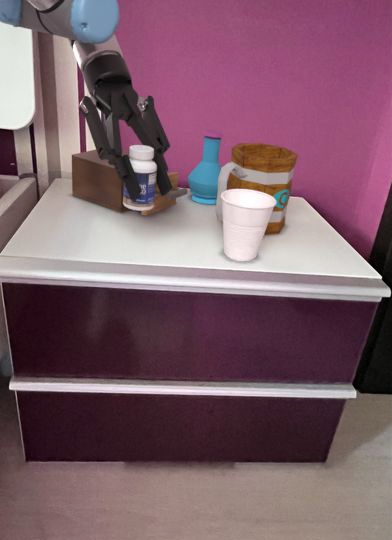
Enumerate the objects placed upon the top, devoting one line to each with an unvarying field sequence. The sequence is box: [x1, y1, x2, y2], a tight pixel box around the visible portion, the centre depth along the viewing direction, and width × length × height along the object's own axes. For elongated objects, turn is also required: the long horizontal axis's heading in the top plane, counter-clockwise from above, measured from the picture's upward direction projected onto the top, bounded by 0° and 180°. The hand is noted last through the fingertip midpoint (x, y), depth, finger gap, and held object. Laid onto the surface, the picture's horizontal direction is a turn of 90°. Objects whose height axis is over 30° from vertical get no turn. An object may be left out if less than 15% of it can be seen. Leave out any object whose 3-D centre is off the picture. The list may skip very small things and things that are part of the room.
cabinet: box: [71, 149, 130, 213], centre depth 122 cm, size 14×12×9 cm
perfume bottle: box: [187, 129, 229, 205], centre depth 126 cm, size 9×9×15 cm
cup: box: [221, 189, 277, 262], centre depth 102 cm, size 10×10×11 cm
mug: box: [215, 142, 299, 236], centre depth 114 cm, size 20×14×15 cm
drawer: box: [123, 171, 189, 217], centre depth 118 cm, size 17×11×7 cm, turn 56°
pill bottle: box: [123, 144, 157, 212], centre depth 94 cm, size 5×5×10 cm
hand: (151, 193), depth 92 cm, fingers closed on pill bottle, 5 cm apart
